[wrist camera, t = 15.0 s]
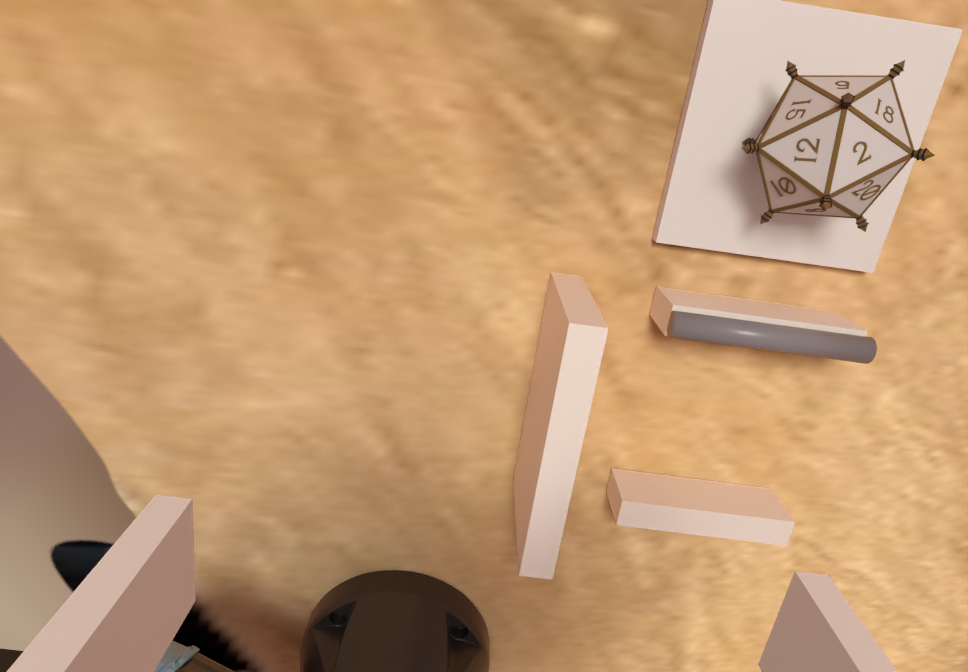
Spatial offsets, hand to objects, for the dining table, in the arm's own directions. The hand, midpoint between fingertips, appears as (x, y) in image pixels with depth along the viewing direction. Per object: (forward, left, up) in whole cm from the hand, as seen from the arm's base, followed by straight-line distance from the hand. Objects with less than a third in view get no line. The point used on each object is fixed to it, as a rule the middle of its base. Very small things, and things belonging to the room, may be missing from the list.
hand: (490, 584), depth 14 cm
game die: (+10, -17, -28) cm, 34 cm away
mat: (+10, -17, -29) cm, 35 cm away
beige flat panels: (-8, -13, -29) cm, 33 cm away
